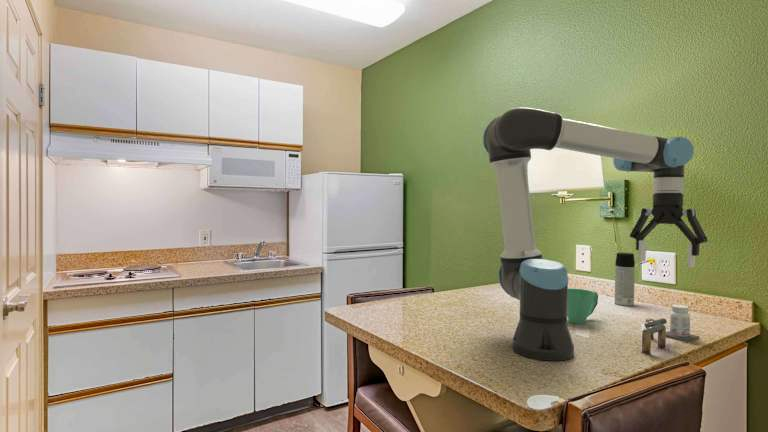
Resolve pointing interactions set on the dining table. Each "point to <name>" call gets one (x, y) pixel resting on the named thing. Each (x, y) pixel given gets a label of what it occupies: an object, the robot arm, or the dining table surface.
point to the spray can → (624, 279)
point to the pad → (682, 337)
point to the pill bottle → (680, 321)
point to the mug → (580, 304)
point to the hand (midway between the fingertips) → (665, 264)
